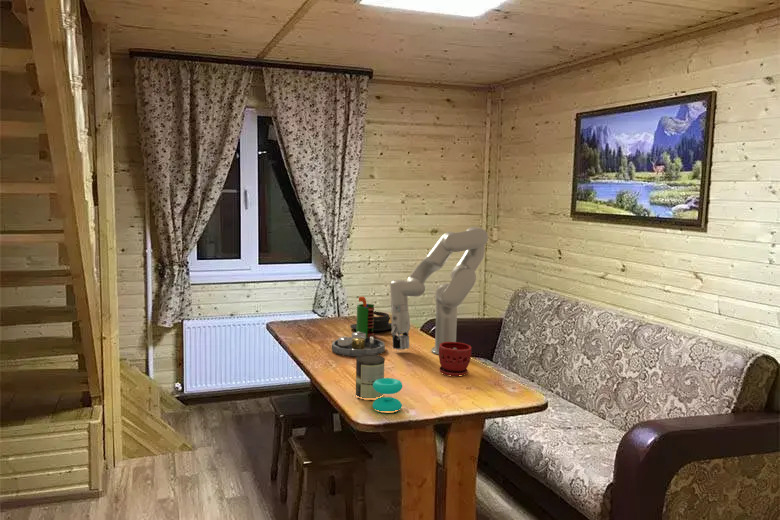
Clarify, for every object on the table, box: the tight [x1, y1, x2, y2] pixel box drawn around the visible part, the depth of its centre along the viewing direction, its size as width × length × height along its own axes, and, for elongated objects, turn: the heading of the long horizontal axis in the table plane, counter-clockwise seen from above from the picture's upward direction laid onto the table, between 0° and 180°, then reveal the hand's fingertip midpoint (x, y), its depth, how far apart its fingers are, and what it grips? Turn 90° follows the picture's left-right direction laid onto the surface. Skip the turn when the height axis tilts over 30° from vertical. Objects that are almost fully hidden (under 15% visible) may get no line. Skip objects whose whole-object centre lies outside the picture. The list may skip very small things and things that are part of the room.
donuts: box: [372, 377, 403, 411], centre depth 225 cm, size 10×10×10 cm
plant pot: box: [438, 341, 472, 377], centre depth 269 cm, size 13×13×12 cm
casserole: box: [349, 311, 392, 333], centre depth 346 cm, size 25×19×8 cm
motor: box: [355, 296, 375, 338], centre depth 329 cm, size 10×9×20 cm
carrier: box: [331, 331, 386, 358], centre depth 303 cm, size 24×24×7 cm
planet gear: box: [392, 334, 410, 351], centre depth 300 cm, size 8×8×5 cm
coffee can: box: [355, 355, 386, 398], centre depth 238 cm, size 10×10×14 cm
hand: (401, 345), depth 301 cm, fingers closed on planet gear, 7 cm apart
